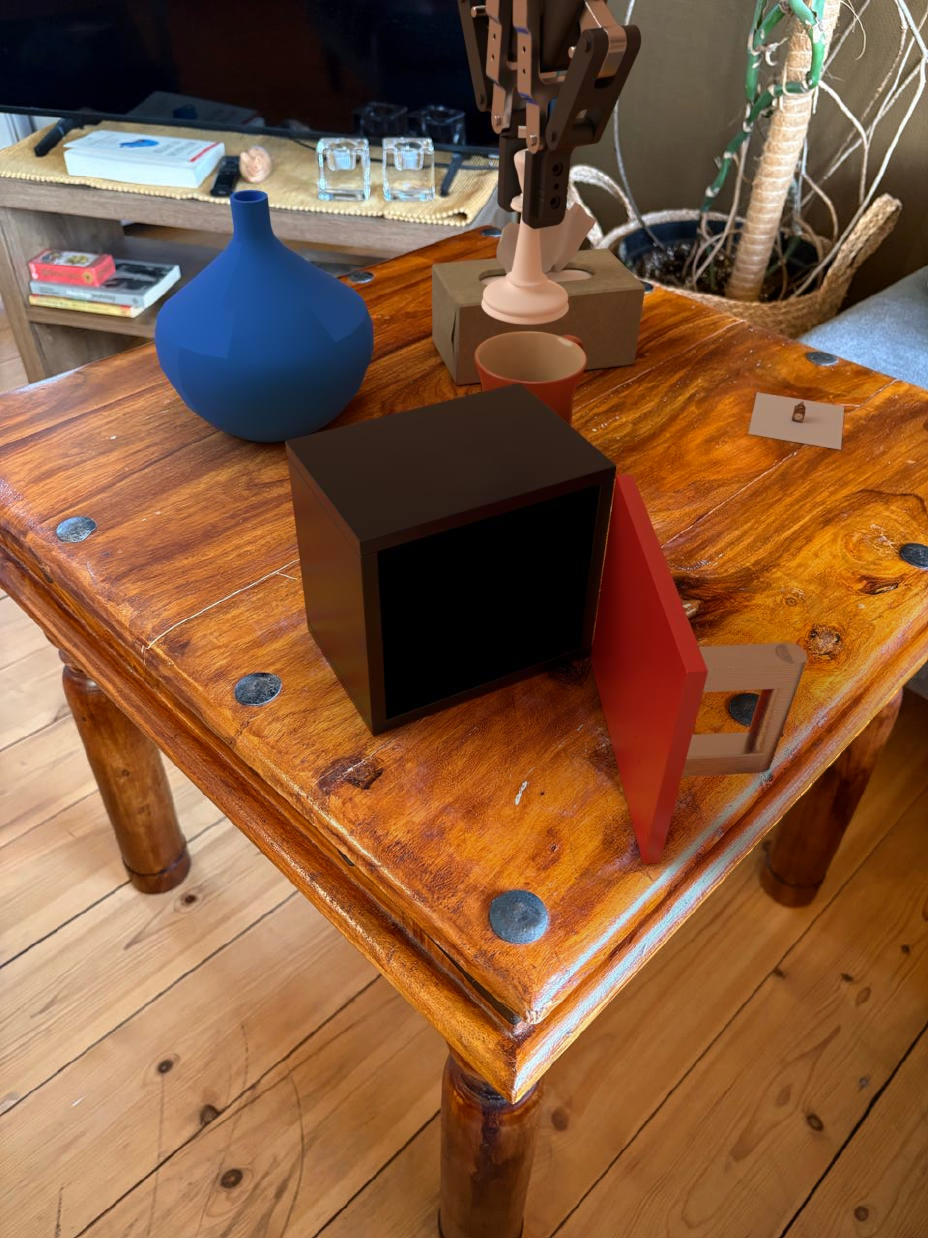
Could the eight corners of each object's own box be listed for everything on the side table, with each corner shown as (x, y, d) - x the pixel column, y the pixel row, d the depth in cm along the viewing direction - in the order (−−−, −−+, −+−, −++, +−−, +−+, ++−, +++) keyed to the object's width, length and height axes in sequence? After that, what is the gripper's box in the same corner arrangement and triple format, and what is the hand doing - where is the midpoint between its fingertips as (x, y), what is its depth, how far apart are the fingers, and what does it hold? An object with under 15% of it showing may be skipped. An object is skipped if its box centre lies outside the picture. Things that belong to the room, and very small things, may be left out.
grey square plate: (748, 433, 88) (752, 415, 87) (756, 392, 94) (761, 374, 93) (841, 449, 86) (846, 431, 85) (844, 406, 92) (849, 388, 91)
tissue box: (453, 386, 94) (454, 217, 83) (429, 341, 101) (427, 179, 90) (638, 365, 98) (661, 200, 87) (602, 322, 105) (620, 165, 94)
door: (690, 656, 66) (733, 470, 57) (764, 856, 54) (834, 665, 45) (590, 660, 66) (615, 474, 56) (642, 864, 54) (687, 672, 44)
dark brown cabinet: (591, 655, 67) (617, 465, 57) (372, 737, 61) (359, 541, 51) (509, 564, 74) (520, 381, 64) (307, 629, 68) (284, 440, 58)
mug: (539, 510, 79) (549, 394, 72) (451, 473, 83) (452, 360, 76) (612, 446, 86) (627, 335, 80) (528, 415, 90) (535, 307, 83)
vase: (402, 448, 86) (396, 224, 73) (188, 486, 81) (141, 253, 68) (347, 354, 98) (333, 150, 86) (159, 382, 94) (115, 170, 81)
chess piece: (570, 326, 54) (588, 129, 47) (480, 323, 54) (486, 126, 48) (566, 289, 58) (582, 101, 51) (482, 286, 58) (487, 99, 51)
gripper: (731, -200, 38) (664, 250, 49) (547, -214, 47) (526, 168, 59) (563, -200, 35) (533, 276, 47) (403, -215, 44) (411, 186, 56)
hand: (530, 214), depth 53 cm, fingers closed on chess piece
